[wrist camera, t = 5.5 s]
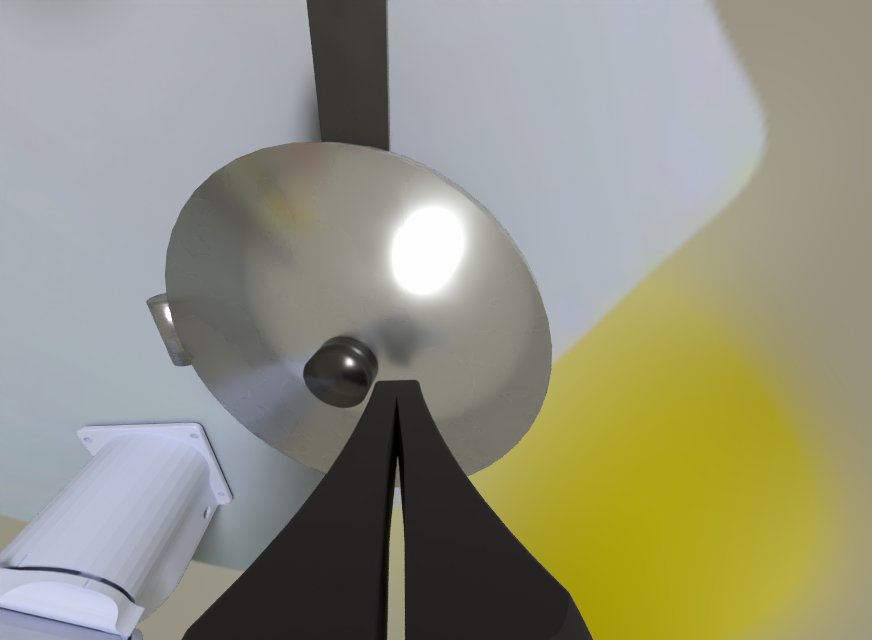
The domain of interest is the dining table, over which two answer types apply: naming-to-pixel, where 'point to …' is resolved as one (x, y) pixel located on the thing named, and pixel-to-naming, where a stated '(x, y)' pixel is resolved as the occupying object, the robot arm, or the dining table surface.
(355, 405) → the cooker lid
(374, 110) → the cooker pot
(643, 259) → the dining table surface
